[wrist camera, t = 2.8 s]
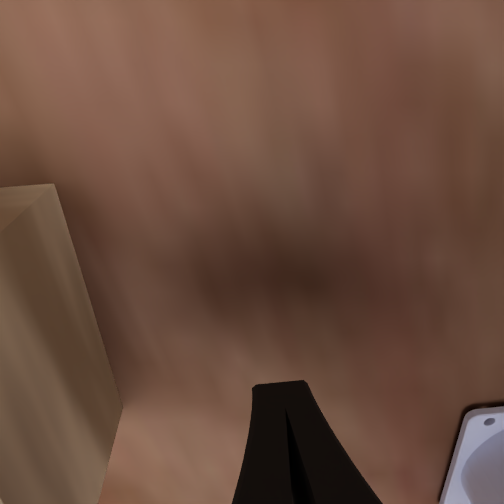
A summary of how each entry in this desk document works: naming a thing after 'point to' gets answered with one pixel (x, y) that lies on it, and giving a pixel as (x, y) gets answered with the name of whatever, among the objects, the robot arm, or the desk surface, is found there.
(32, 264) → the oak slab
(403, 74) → the desk surface
